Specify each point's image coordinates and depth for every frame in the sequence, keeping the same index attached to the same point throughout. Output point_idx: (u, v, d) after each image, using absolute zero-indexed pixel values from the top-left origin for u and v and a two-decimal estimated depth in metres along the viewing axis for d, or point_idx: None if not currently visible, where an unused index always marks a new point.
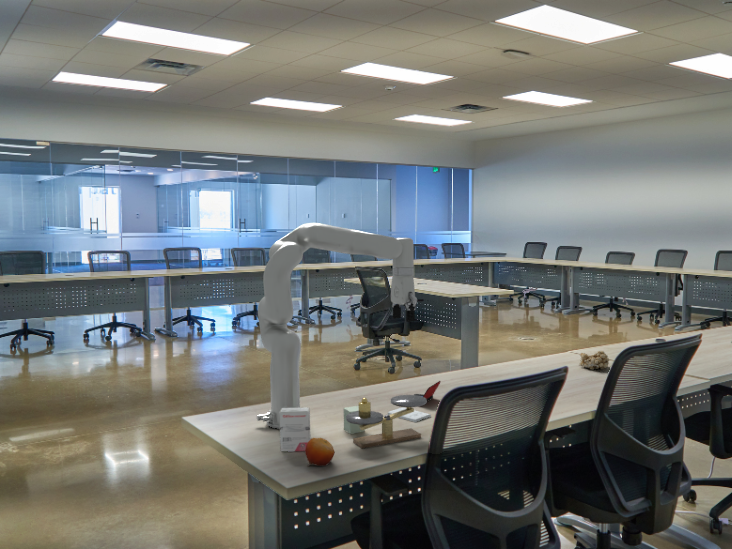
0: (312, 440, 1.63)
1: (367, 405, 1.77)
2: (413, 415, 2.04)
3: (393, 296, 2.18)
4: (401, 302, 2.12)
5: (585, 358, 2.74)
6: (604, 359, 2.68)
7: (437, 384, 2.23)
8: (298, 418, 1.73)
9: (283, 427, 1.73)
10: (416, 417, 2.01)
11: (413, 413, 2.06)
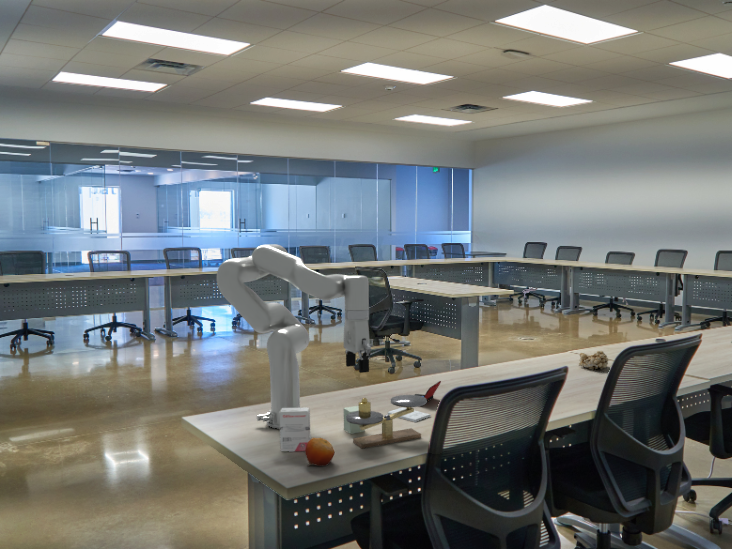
0: (312, 440, 1.63)
1: (367, 405, 1.77)
2: (413, 415, 2.04)
3: (346, 342, 1.90)
4: (353, 350, 1.85)
5: (584, 358, 2.74)
6: (603, 359, 2.68)
7: (438, 384, 2.23)
8: (298, 418, 1.73)
9: (283, 427, 1.73)
10: (416, 417, 2.01)
11: (413, 413, 2.06)
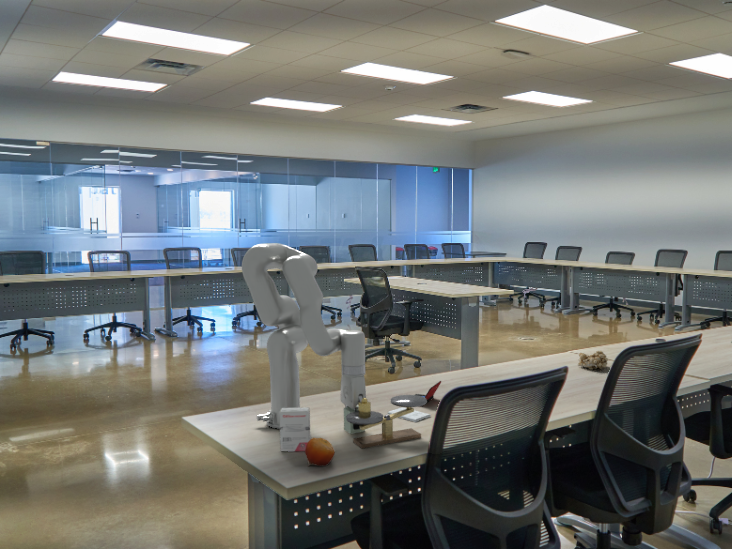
0: (312, 440, 1.63)
1: (367, 405, 1.77)
2: (413, 415, 2.04)
3: (342, 396, 1.92)
4: (350, 405, 1.87)
5: (584, 358, 2.74)
6: (603, 359, 2.68)
7: (438, 384, 2.23)
8: (298, 418, 1.73)
9: (283, 427, 1.73)
10: (416, 417, 2.01)
11: (413, 413, 2.06)
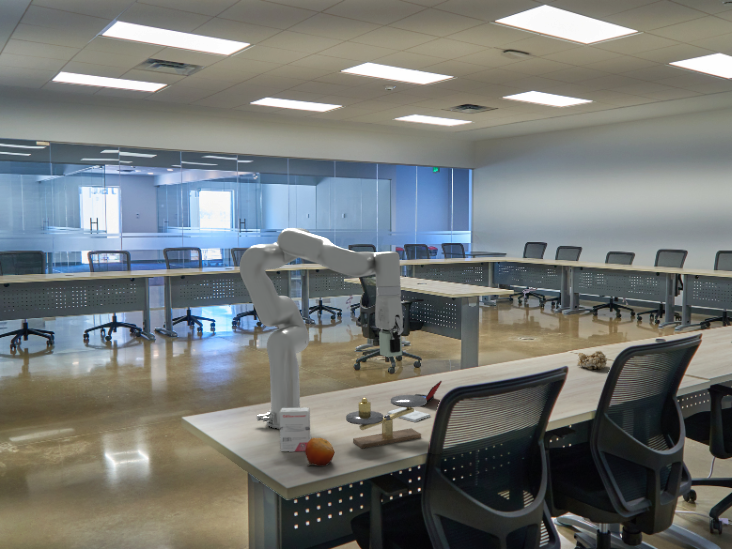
0: (312, 440, 1.63)
1: (367, 405, 1.77)
2: (413, 415, 2.04)
3: (378, 320, 1.86)
4: (387, 327, 1.81)
5: (583, 358, 2.74)
6: (602, 359, 2.68)
7: (439, 384, 2.23)
8: (298, 418, 1.73)
9: (283, 427, 1.73)
10: (416, 417, 2.01)
11: (413, 413, 2.06)
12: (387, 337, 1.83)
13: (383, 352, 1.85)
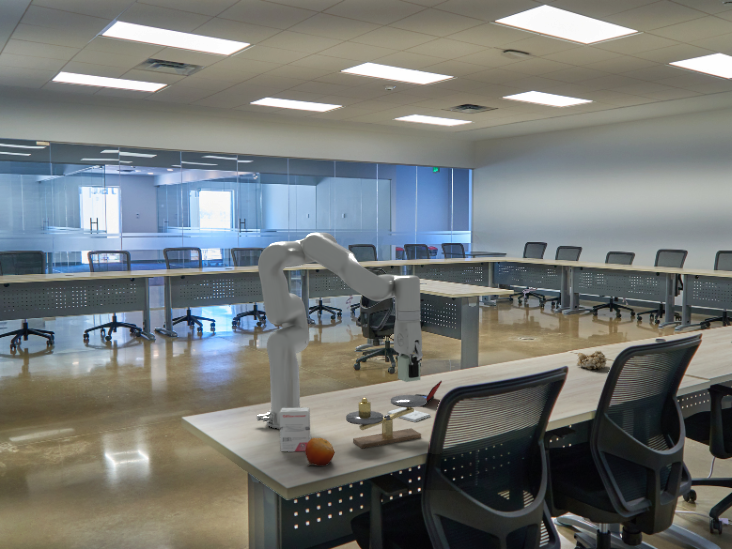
0: (312, 440, 1.63)
1: (367, 405, 1.77)
2: (413, 415, 2.04)
3: (396, 344, 1.85)
4: (406, 352, 1.80)
5: (582, 358, 2.75)
6: (601, 359, 2.68)
7: (439, 384, 2.24)
8: (298, 418, 1.73)
9: (283, 427, 1.73)
10: (415, 417, 2.01)
11: (413, 413, 2.06)
12: (406, 362, 1.81)
13: (401, 376, 1.83)
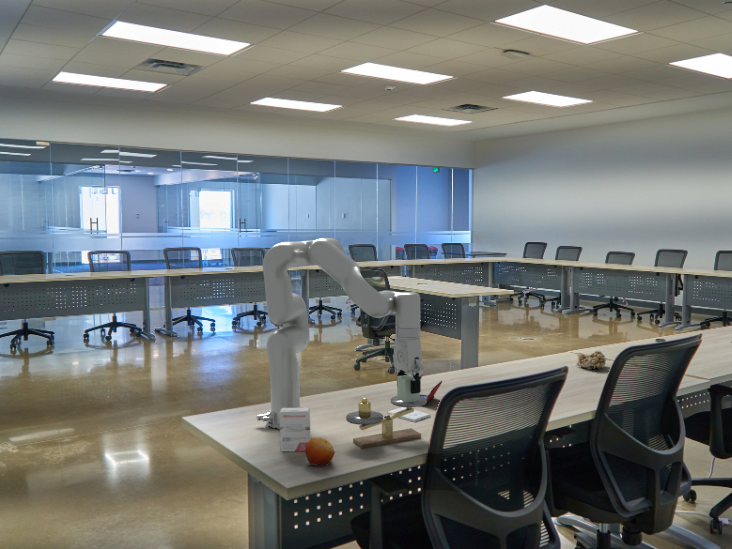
0: (312, 440, 1.63)
1: (367, 405, 1.77)
2: (413, 415, 2.04)
3: (396, 360, 1.85)
4: (406, 369, 1.80)
5: (582, 358, 2.75)
6: (601, 359, 2.69)
7: (439, 384, 2.24)
8: (298, 418, 1.73)
9: (283, 427, 1.73)
10: (415, 417, 2.01)
11: (413, 413, 2.06)
12: (405, 383, 1.81)
13: (401, 397, 1.84)
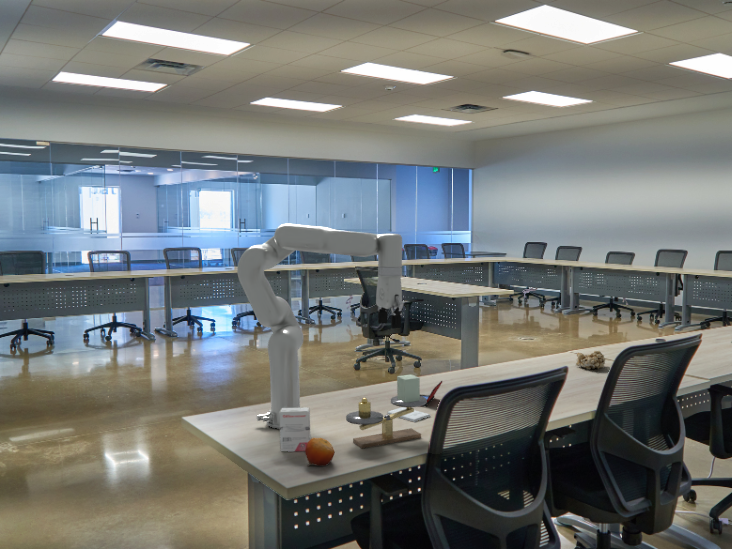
0: (312, 440, 1.63)
1: (367, 405, 1.77)
2: (413, 414, 2.04)
3: (378, 299, 1.95)
4: (386, 306, 1.90)
5: (581, 358, 2.75)
6: (600, 359, 2.69)
7: (440, 384, 2.24)
8: (298, 418, 1.73)
9: (283, 427, 1.73)
10: (415, 417, 2.01)
11: (413, 413, 2.06)
12: (405, 383, 1.81)
13: (401, 397, 1.84)
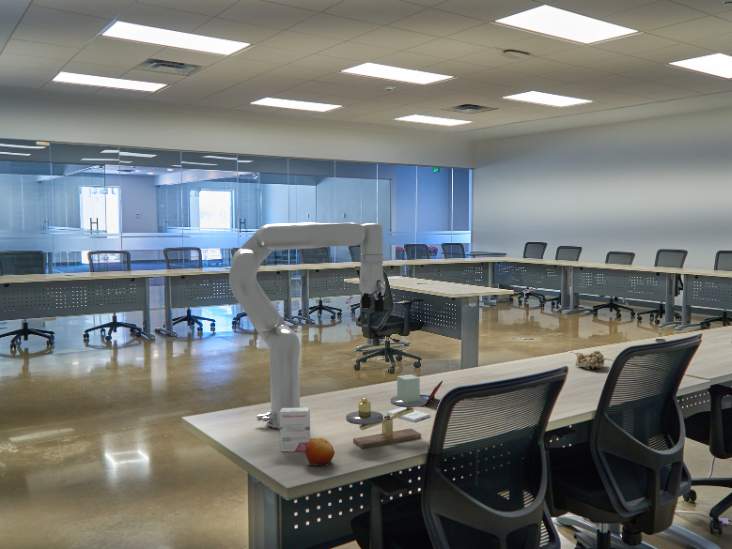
0: (312, 440, 1.63)
1: (367, 405, 1.77)
2: (412, 414, 2.04)
3: (361, 285, 2.06)
4: (369, 291, 2.01)
5: (581, 358, 2.75)
6: (600, 359, 2.69)
7: (440, 384, 2.24)
8: (298, 418, 1.73)
9: (283, 427, 1.73)
10: (415, 417, 2.01)
11: (413, 413, 2.06)
12: (405, 383, 1.81)
13: (401, 397, 1.84)
